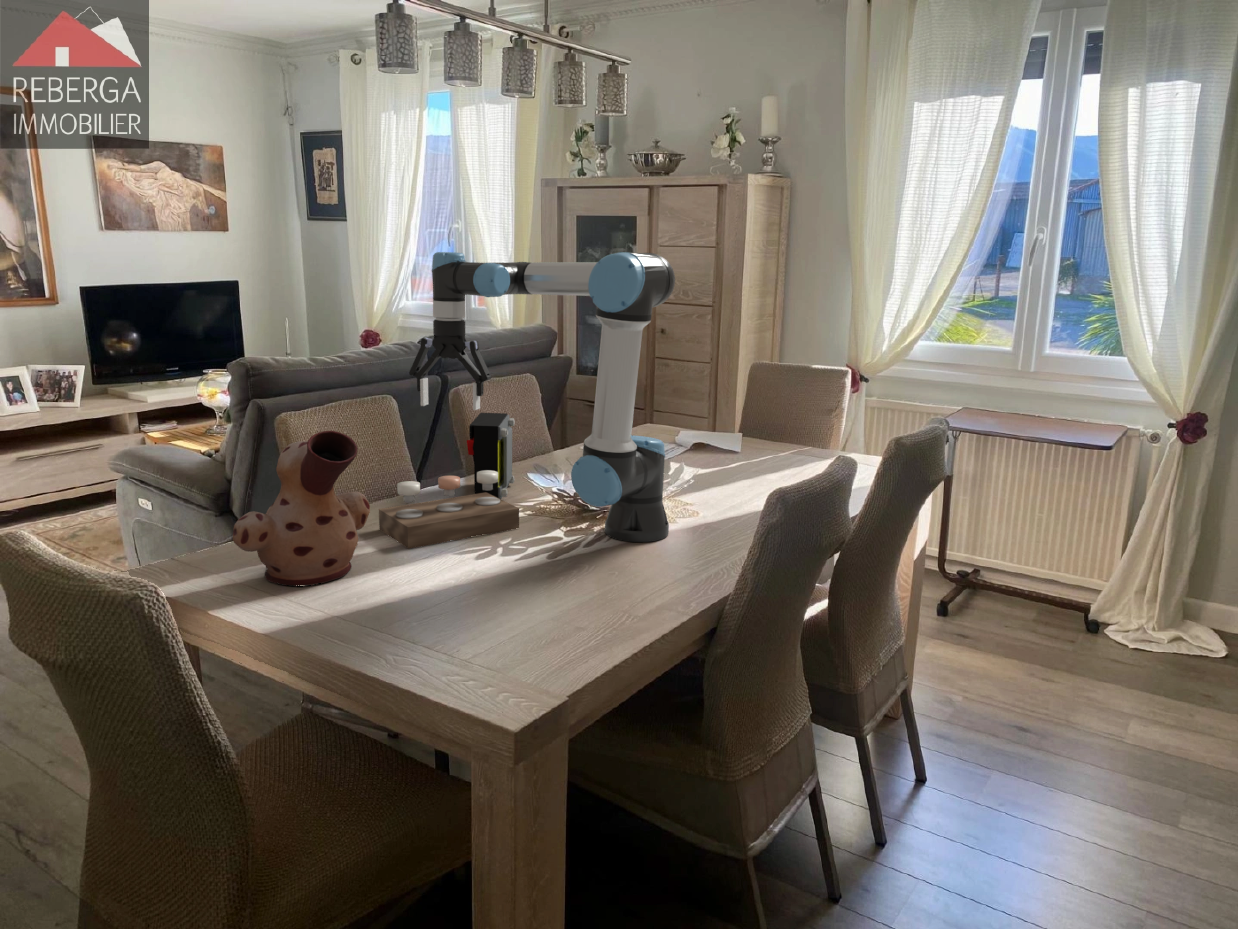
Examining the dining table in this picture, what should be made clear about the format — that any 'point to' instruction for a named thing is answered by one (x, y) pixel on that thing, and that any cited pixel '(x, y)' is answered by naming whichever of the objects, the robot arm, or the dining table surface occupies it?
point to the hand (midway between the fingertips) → (450, 407)
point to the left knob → (408, 490)
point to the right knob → (487, 479)
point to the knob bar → (447, 519)
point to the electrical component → (492, 450)
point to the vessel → (307, 515)
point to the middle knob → (449, 484)
